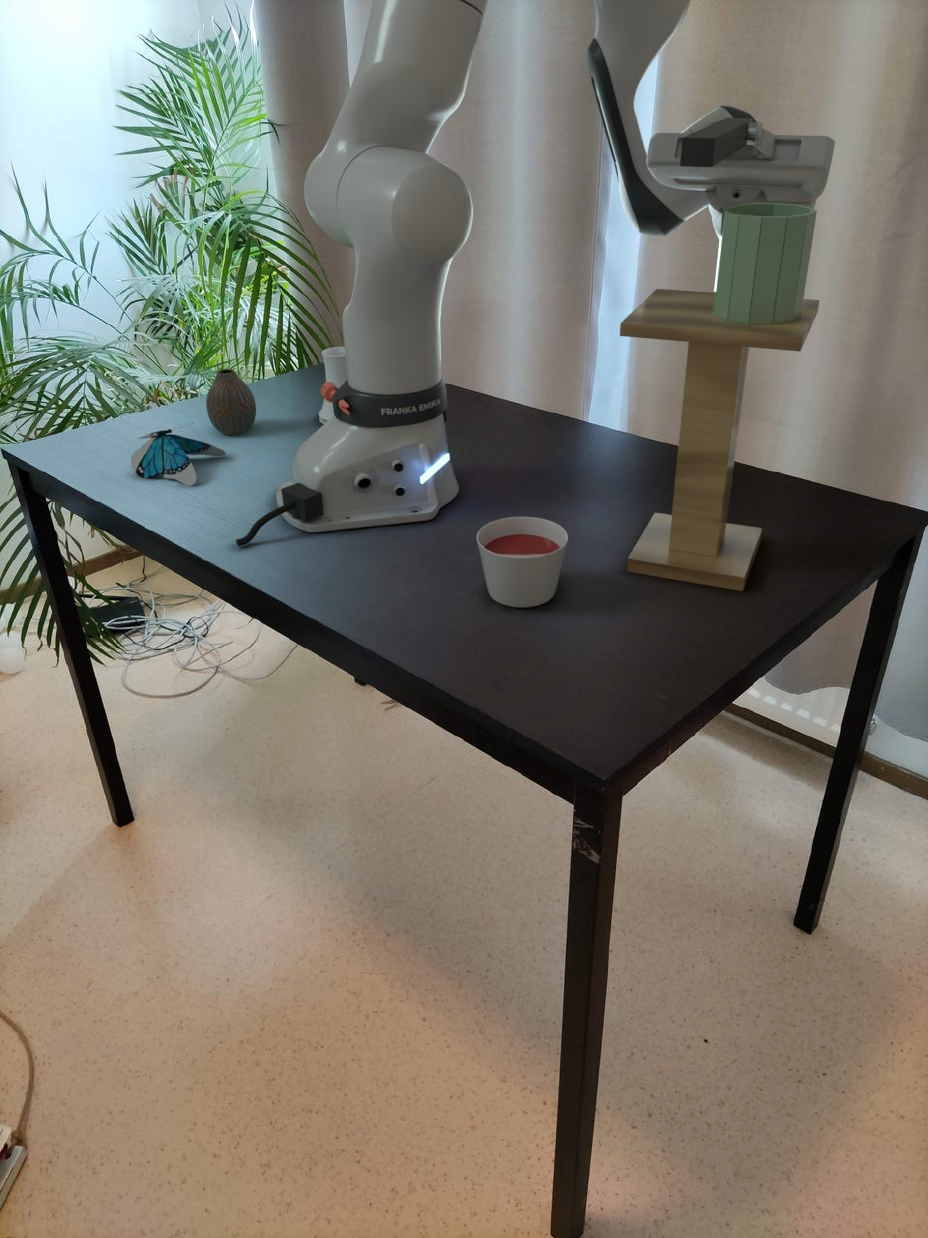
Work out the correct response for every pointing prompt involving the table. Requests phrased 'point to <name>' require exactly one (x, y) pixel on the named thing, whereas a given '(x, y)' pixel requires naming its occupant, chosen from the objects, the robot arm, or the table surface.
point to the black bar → (714, 142)
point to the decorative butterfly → (170, 456)
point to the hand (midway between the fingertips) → (732, 128)
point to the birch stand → (705, 437)
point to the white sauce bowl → (522, 559)
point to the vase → (230, 404)
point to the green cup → (763, 262)
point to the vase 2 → (333, 376)
